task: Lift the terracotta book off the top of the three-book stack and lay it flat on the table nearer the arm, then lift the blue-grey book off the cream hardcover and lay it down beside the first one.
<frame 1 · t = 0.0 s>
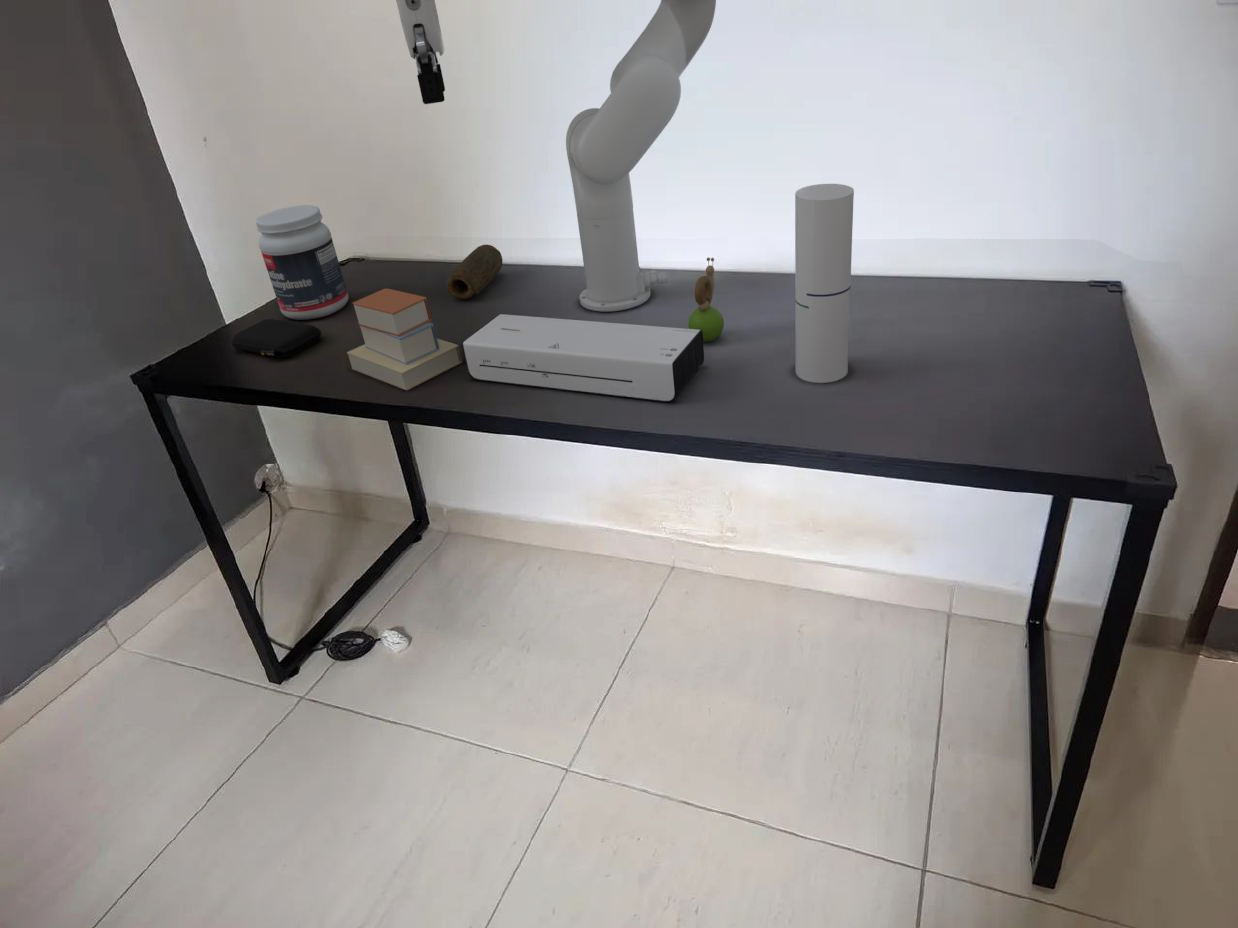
hand: (434, 97, 132), 37 cm above the table, tool pointing down, fingers open, 9 cm apart
supplement tub: (317, 310, 166), on the table
carrying case: (276, 348, 152), on the table
grey blue book: (402, 348, 138), point 3 cm above the table, touching cream hardcover, terracotta book
snail figurine: (708, 339, 135), on the table
terracotta book: (395, 323, 135), point 7 cm above the table, touching grey blue book
cylindrical container: (821, 372, 122), on the table
cream hardcover: (406, 365, 139), on the table, touching grey blue book
laminator: (586, 373, 130), on the table
brown vase: (478, 289, 166), on the table
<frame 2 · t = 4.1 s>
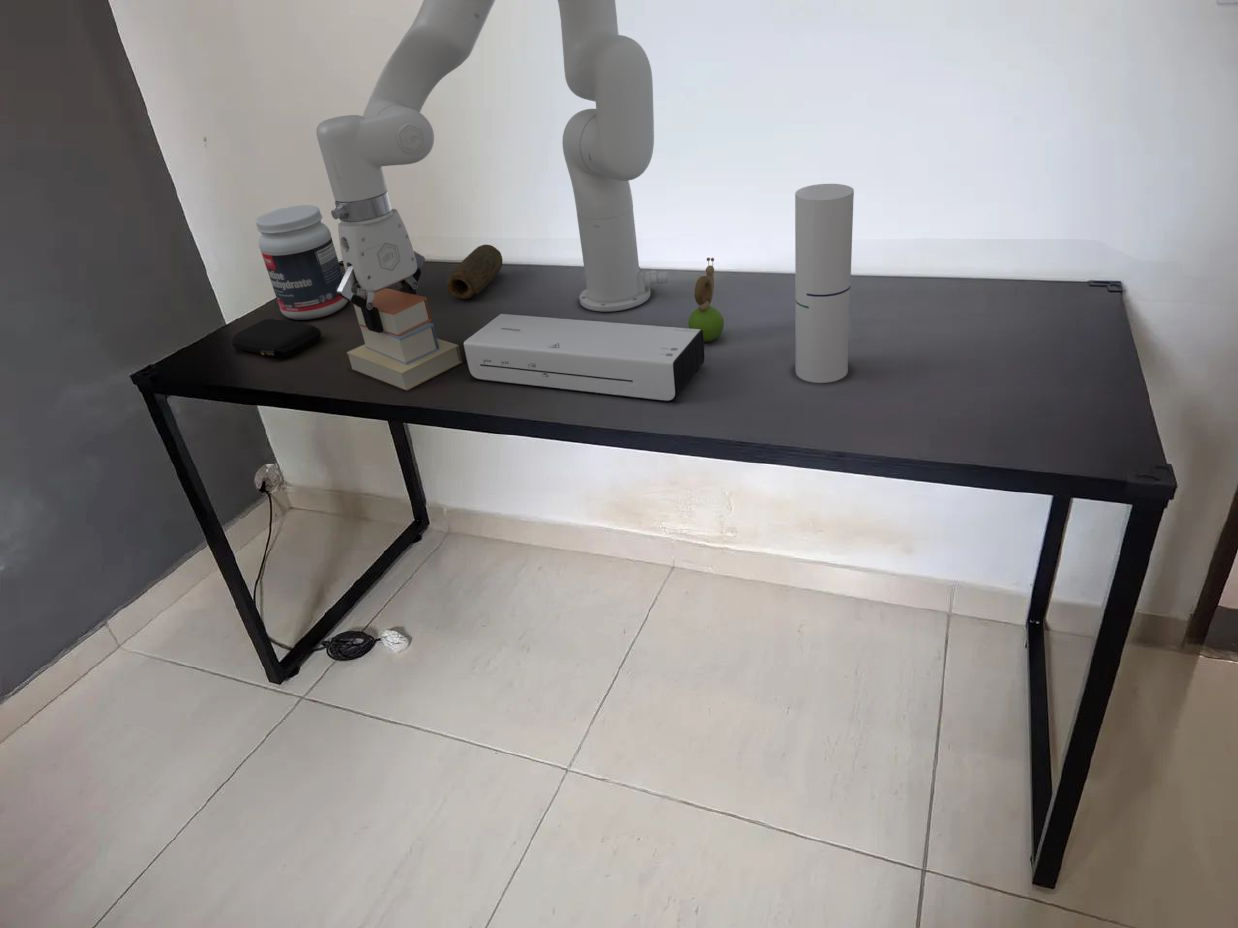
hand: (394, 321, 135), 8 cm above the table, tool pointing down, fingers closed on terracotta book, 6 cm apart
terracotta book: (395, 323, 135), point 7 cm above the table, touching grey blue book, gripper
everything else where it was.
when the fingers open (0 cm above the table, at t = 12.4 s): terracotta book stays where it is, on the table.
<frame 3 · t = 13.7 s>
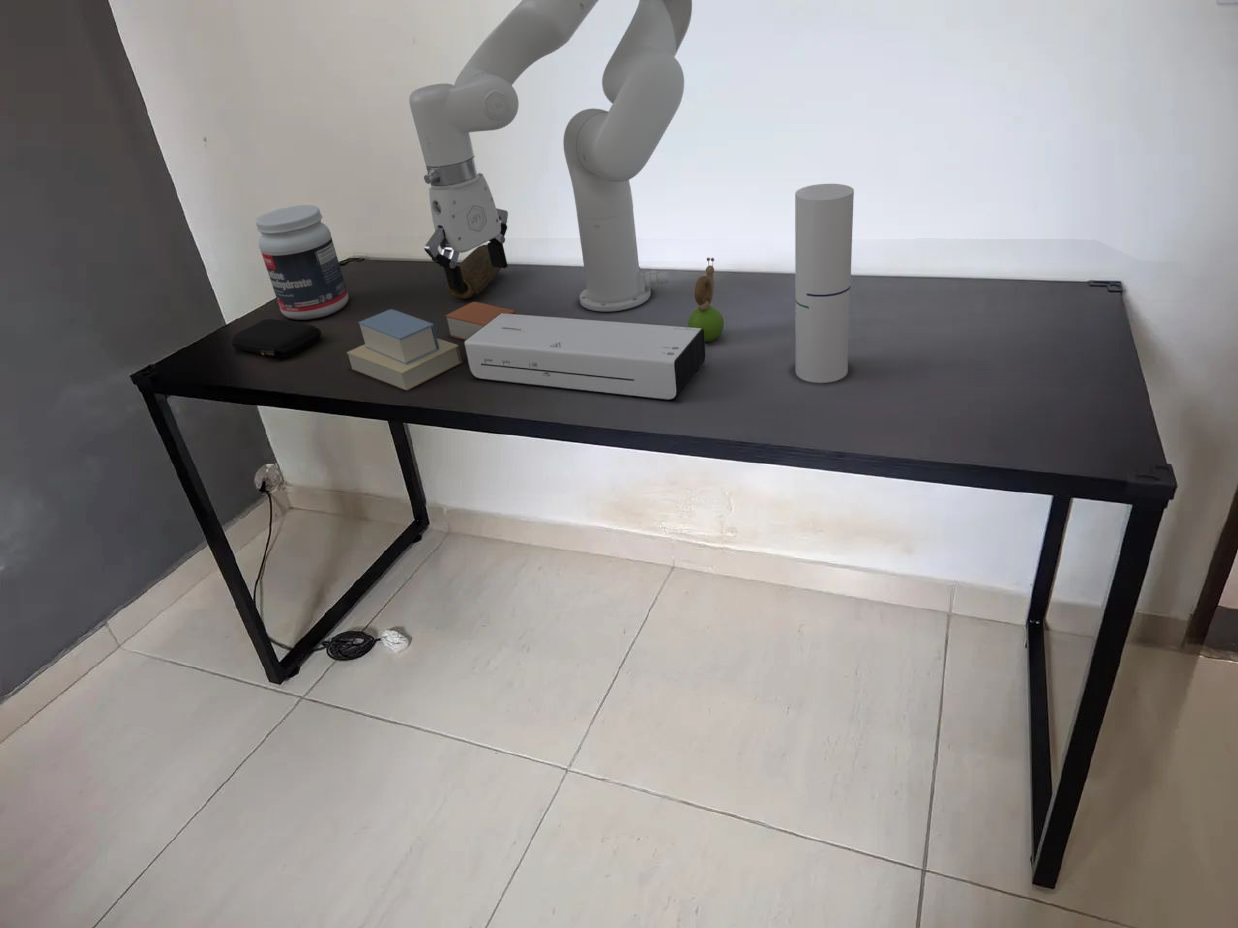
hand: (479, 278, 142), 10 cm above the table, tool pointing down, fingers open, 9 cm apart
grey blue book: (402, 348, 138), point 3 cm above the table, touching cream hardcover
terracotta book: (484, 334, 147), on the table
everything else where it was.
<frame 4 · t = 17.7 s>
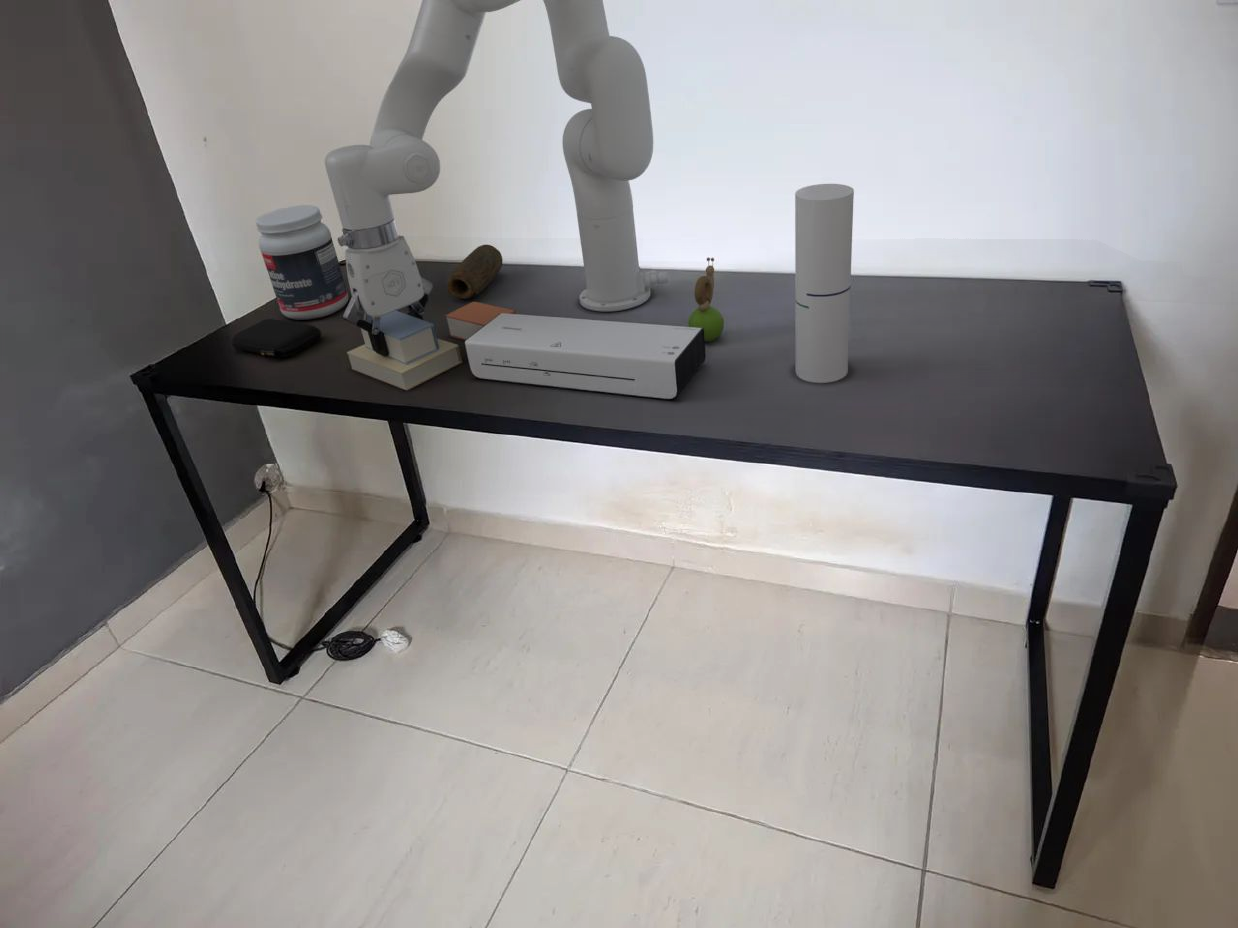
hand: (401, 345, 137), 4 cm above the table, tool pointing down, fingers closed on grey blue book, 6 cm apart
grey blue book: (402, 348, 138), point 3 cm above the table, touching cream hardcover, gripper
everything else where it was.
when the fingers open (1 cm above the table, at t = 25.9 s): grey blue book stays where it is, on the table.
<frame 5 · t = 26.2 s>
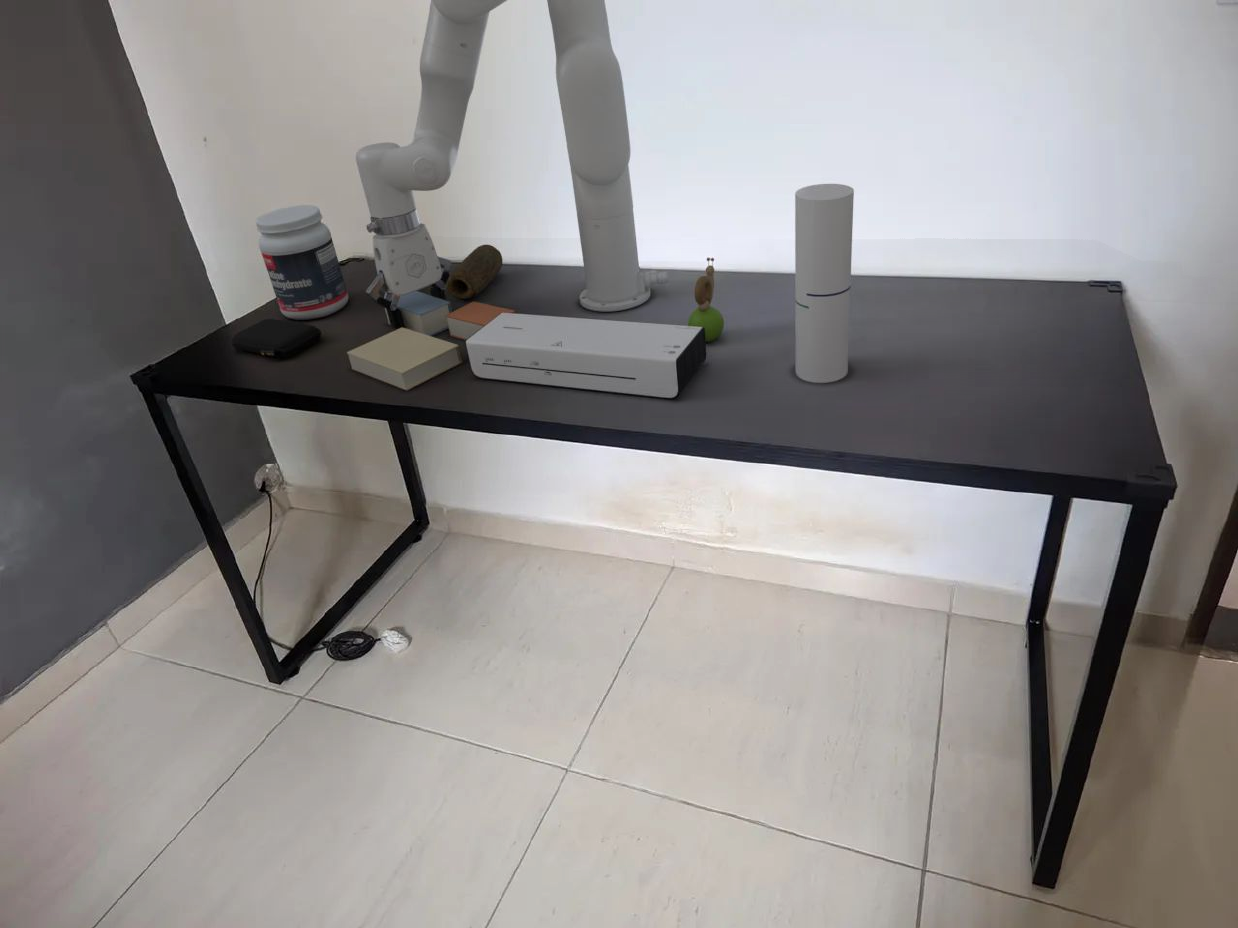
hand: (420, 319, 153), 1 cm above the table, tool pointing down, fingers open, 8 cm apart
grey blue book: (421, 324, 154), on the table
cream hardcover: (406, 365, 139), on the table
everything else where it was.
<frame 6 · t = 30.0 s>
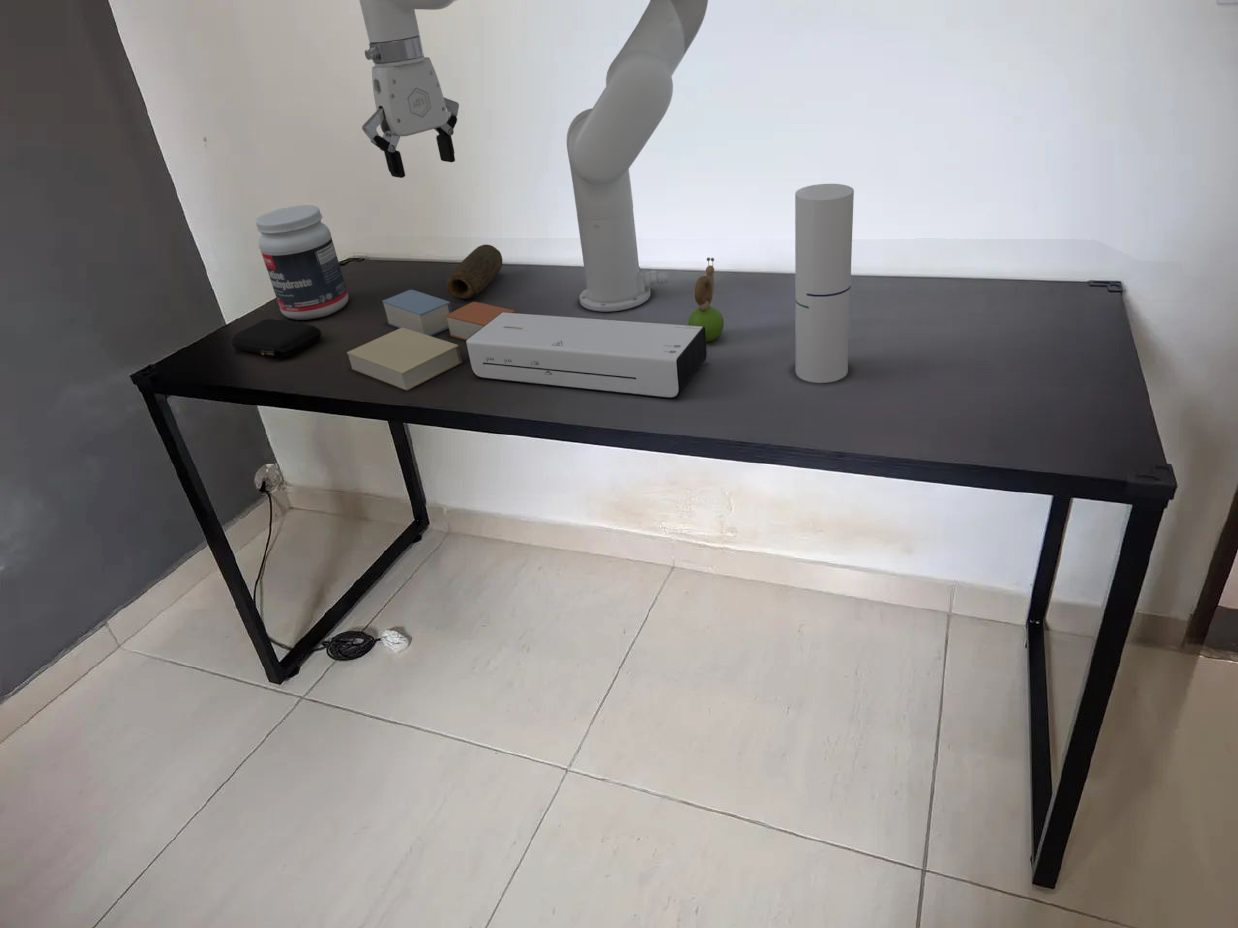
hand: (423, 169, 139), 26 cm above the table, tool pointing down, fingers open, 9 cm apart
nothing on the table moved.
at the end: terracotta book inside the target area (0.1 cm from its centre), on the table; grey blue book inside the target area (0.1 cm from its centre), on the table; cream hardcover moved 0.0 cm from its start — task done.
